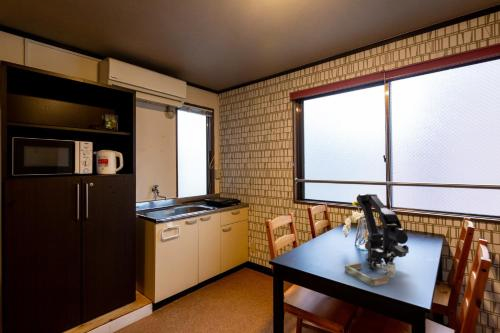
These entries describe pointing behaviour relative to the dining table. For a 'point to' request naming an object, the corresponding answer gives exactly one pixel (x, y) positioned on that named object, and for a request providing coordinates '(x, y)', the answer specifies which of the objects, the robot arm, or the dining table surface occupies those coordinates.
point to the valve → (383, 267)
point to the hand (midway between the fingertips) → (388, 267)
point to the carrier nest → (371, 281)
